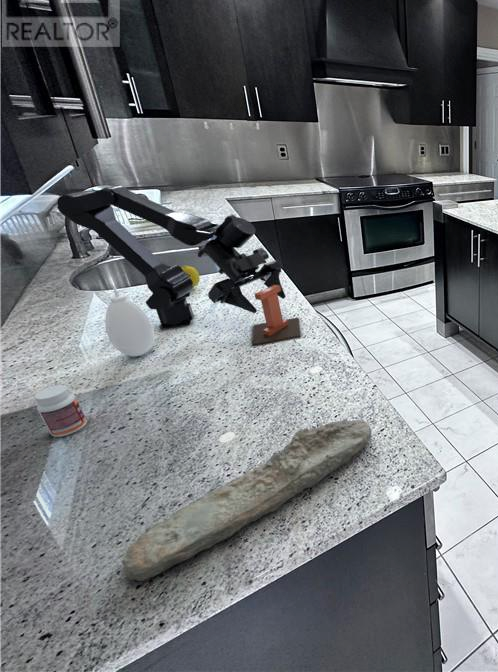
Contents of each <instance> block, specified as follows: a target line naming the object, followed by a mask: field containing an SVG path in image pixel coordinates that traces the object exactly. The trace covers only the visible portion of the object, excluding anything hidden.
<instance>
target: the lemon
mask: <svg viewBox="0 0 498 672" xmlns="http://www.w3.org/2000/svg"><path fill="white" fill-rule="evenodd" d="M181 268H182V269H183V271H184V272H185V273H187V274H188V275H190V277H189V278H190V279H191V280H192V282H193V288H192V290H193V289H194V288H195V287H197V286H198V284H199V283H200V281H201V279H200V278H201V277H200V274H199V272H198V270H196V268H195V267H193V266H189V265H183V266H181Z"/></svg>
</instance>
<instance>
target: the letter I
mask: <svg viewBox="0 0 498 672" xmlns="http://www.w3.org/2000/svg"><path fill="white" fill-rule="evenodd" d="M280 291H281V288H280V286H279V285H273V286H271V287H269V288H268V287H267V288H264V289H262V290H260V291H258V292H255V293H254V298H255V300H257V301H260V303H261V306H262V311H263V316H264V320H265V323H266V325H267V327H268V328H266V329H264V330H263V332H264V335H267V336H270V335H272V334H274V333H276V332H277V331H279V330H281V329H282V328H284V327H286V326H288V322H287V319H284V318H283V314H282V309H281V305H280V299H279V296H278V295H277V292H280Z"/></svg>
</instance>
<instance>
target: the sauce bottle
mask: <svg viewBox="0 0 498 672" xmlns="http://www.w3.org/2000/svg"><path fill="white" fill-rule="evenodd" d="M112 288H113V292H114V295H113V296H111V297H110V299H109V300H110V303H109V304H108V306H107V309H106V311H105V317H104V325H105V326H104V327H105V332H106V335H107V337H108V340H109V342H110V344H111V345H112V346H113V347H114V349H116V350H117V351H119V352H120V353H121V354H123V355H125V356H130V357H141V356H144V355H145V354H147V353H148V352H149V351H150V349H152V348H153V346H154V343H155V337H156V336H155V335H156V334H155V333H156V332H155V329H154V325H153V323H152V322H151V320H150V318H149V316H148V315H147V313H146V311H144V310H143V309H142V308H141V307H140V306H139V305H138V304H137V303H135V302H134V301H133V300H131V299H129V298H127V295H125V294H119V293H118V290H117V289H116V286H114V285H113V286H112Z"/></svg>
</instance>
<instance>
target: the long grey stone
mask: <svg viewBox="0 0 498 672" xmlns="http://www.w3.org/2000/svg"><path fill="white" fill-rule="evenodd" d="M371 439H372V428H371V426H370V424H369V423H368V422H366V420H361V419H354V420H353V419H352V420H347V419H343V420H338V421H330V422H328V423H325V424H324V425H321V426H318V427H314V428H311V429H308V428H306V427H305V428H302V429H301V428H300V429H298V430H297V431H296V432H295V433H294V434H293V436H292V437H291V440H290V442H288V443H287V444H286V445H285V446H284V448H283V449H281V450H279V451H277V452H274V454H272V455H271V456H270V458H269V459H268V460H267V461H266V463H264V464H261V465H259V466H257V467H256V468H254V469H253V470H250V471H249V472H245V473H243V475H240V476H239V477H236V478H234V479H232V480H230V481H228V482H226V483H225V484H224V485H223V486H221V487H220V488H217V489H215V490H212V491H210V492H209V493H207V494H206V495H203V496H201V497H199V498H198V499H196V500H195V502H193V503H191V504H187V505H186V506H184V507H182V508H181V509H179V510H177V511H175V512H174V514H173V515H171V516H170V517H167V518H166V519H164V520H163V521H159V522H157V523H155V524H153V525H152V526H148V527H147V528H145V531H144V532H143V533H142V534H141V535H140V536H139V537H138V538H137V539H136V540H134V541H133V542H132V543H131V545H130V546H129V547H127V551H126V553H125V555H124V557H123V559H122V560H121V563H122V565H123V566H124V567H123V574H124V575H125V576H126V578H127V580H129V581H138V582H144V581H147V580H148V579H151V578H154V577H156V576H159V575H160V574H162V573H163V572H164V571H168V569H170V568H171V567H173V566H176V565H177V564H180V563H183V562H184V561H187V560H190V559H191V558H193V556H195V555H197V554H199V553H200V552H202V551H205V550H208V549H210V548H212V547H213V546H214V545H216V544H218V543H220V542H222V541H225V540H226V539H228V538H230V537H232V536H233V535H235V533H237V532H239V531H240V530H241V529H242V528H243V527H245V526H248V525H250V524H251V523H252V522H253V523H254V522H256V521H257V520H259V519H261V517H263V516H265V515H268V514H269V513H273V512H275V511H277V510H278V509H279V508H280V507H281V506H282V505H283V504H285V503H286V502H287V501H289V500H290V499H292V498H294V497H296V495H298V494H301V493H302V492H303V490H305V489H307V488H308V489H309V488H312V487H314V486H315V484H317V483H319V482H320V481H321V480H322V479H324V478H326V476H328V475H330V474H332V472H334V471H335V470H337V469H338V468H339V467H341V466H343V465H346V464H347V463H348V462H349V461H351V459H352V457H354V456H355V455H357V453H359V452H360V451H362V450H363V448H365V446H366V445H367V444H368V443H370V441H371Z"/></svg>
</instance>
